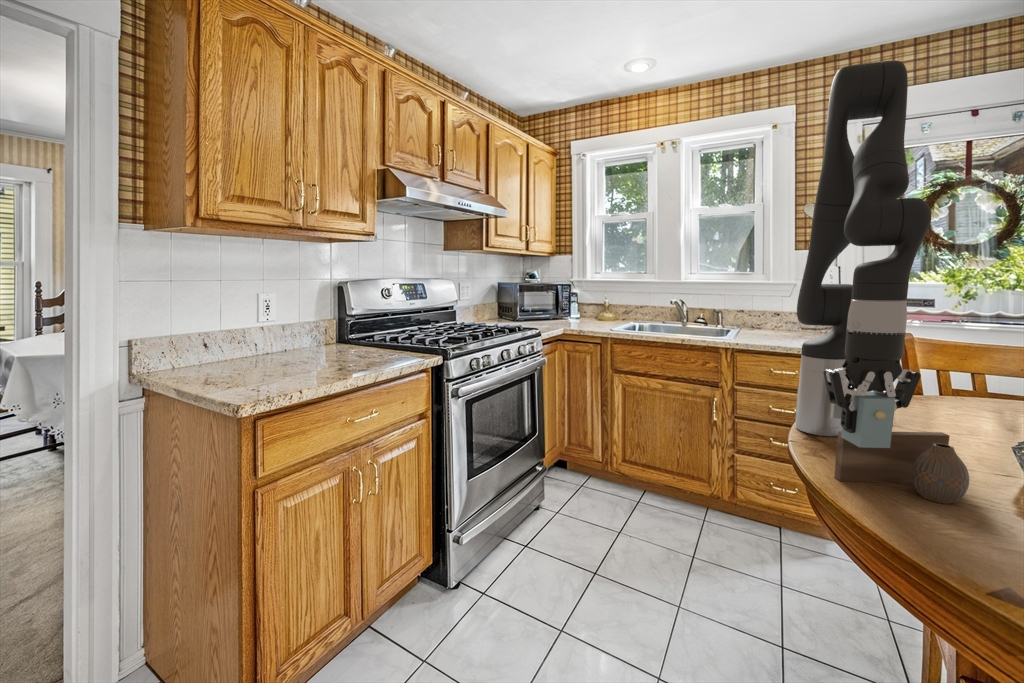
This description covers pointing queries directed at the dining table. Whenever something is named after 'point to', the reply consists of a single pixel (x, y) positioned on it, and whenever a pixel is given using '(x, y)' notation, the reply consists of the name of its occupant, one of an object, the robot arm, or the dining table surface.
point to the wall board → (884, 457)
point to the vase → (940, 474)
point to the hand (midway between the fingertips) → (865, 431)
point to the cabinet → (870, 421)
